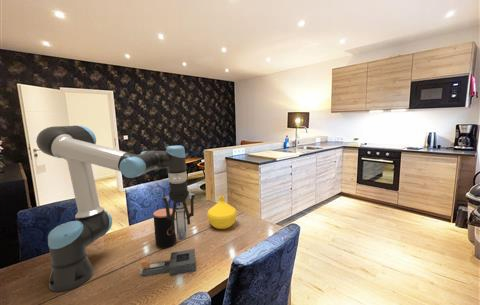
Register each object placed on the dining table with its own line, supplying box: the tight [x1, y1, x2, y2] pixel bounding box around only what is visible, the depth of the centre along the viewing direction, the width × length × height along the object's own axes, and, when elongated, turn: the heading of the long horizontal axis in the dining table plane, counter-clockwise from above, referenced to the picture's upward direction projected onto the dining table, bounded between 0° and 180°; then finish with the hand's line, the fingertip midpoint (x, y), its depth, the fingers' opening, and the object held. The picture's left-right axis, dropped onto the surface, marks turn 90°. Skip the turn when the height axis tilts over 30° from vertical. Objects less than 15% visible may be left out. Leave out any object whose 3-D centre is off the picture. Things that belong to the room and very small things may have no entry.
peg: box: [175, 205, 188, 241], centre depth 100 cm, size 5×5×14 cm
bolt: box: [139, 257, 166, 275], centre depth 99 cm, size 10×2×5 cm, turn 104°
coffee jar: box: [152, 207, 177, 249], centre depth 120 cm, size 11×11×18 cm
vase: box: [207, 195, 238, 230], centre depth 140 cm, size 18×18×19 cm
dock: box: [141, 248, 197, 277], centre depth 101 cm, size 22×11×4 cm, turn 104°
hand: (181, 232), depth 100 cm, fingers closed on peg, 4 cm apart
